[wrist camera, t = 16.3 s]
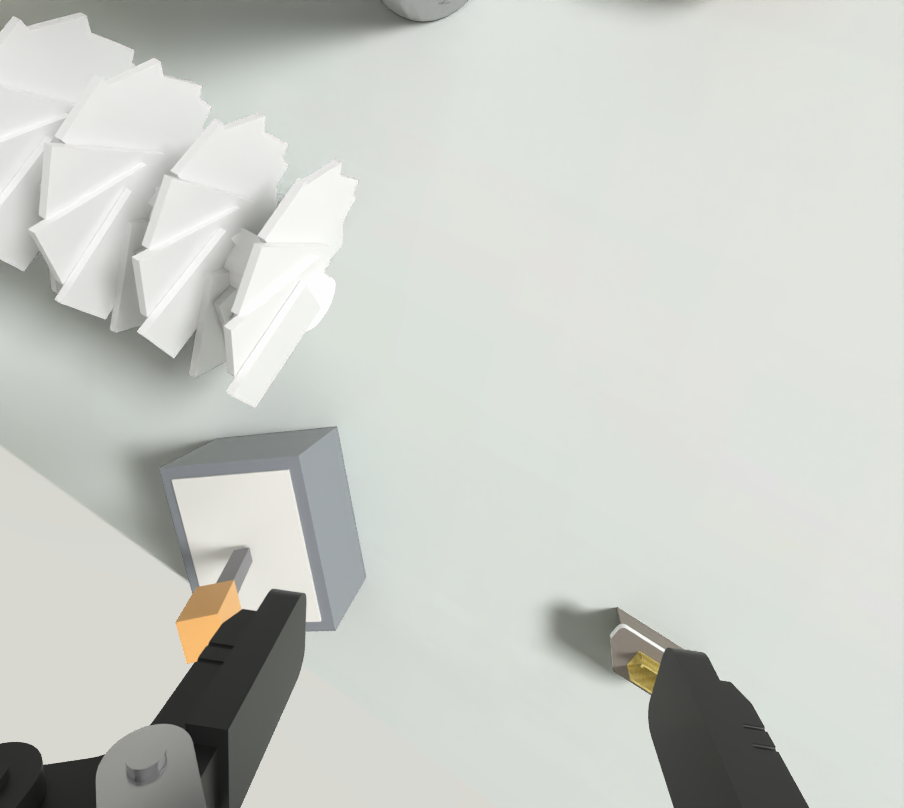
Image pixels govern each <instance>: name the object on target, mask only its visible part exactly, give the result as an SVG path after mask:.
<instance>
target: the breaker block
mask: <svg viewBox="0 0 904 808" xmlns="http://www.w3.org/2000/svg"><path fill="white" fill-rule="evenodd" d="M159 471H160V474H161V478H162V482H163V485H164V489H165V493H166V497H167V500H168V504H169V508H170V511H171V515H172V519H173V523H174V526H175V530H176V534H177V538H178V541H179V545H180V549H181V552H182V556H183V560H184V564H185V567H186V571H187V575H188V579H189V582H190V586H191V590H192V593H194V591H195V589H196V588H197V587H200V586H205V585H210V584H215V583H216V582H217V580H218V578H219V577H220V575H221V573H222V571H223V569H224V567H225V566H226V564H227V562H228V560H229V558H230V556H231V554H232V553H233V551H234V550H238V549H243V548H248V547H249V548H250V552H251V556H252V560H253V562H252V564H251V566H250V568H249V571H248V573H247V575H246V577H245V579H244V582H243V584H242V586H241V588H240V591H239V593H238V597H239V601H240V605H241V609H247V610H254V611H257V610H258V608H259V606H260V605H261V603H262V602H263V600H264V599H265V597H266V595H267V594H268V592H269V591H270V590H271V589H280V590H287V591H294V592H300V593H305V594H306V599H307V603H306V628H305V631H335V630H336V629H337V627H338V625H339V624H340V622H341V620H342V618H343V617H344V615H345V613H346V611H347V610H348V608H349V606H350V604H351V603H352V601H353V599H354V597H355V596H356V594H357V592H358V590H359V589H360V587H361V585H362V584H363V582H364V580H365V578H366V575H365V570H364V565H363V559H362V554H361V549H360V544H359V539H358V533H357V528H356V523H355V518H354V512H353V507H352V502H351V497H350V492H349V486H348V481H347V476H346V471H345V465H344V460H343V455H342V450H341V445H340V439H339V434H338V429H337V427H329V428H319V429H308V430H298V431H288V432H278V433H268V434H258V435H247V436H237V437H227V438H217V439H215V440H213V441H211V442H209V443H207V444H205V445H203V446H201V447H199V448H197V449H195V450H193V451H191V452H189V453H187V454H185V455H183V456H181V457H179V458H178V459H176V460H174V461H172V462H170V463H168V464H166V465H164V466H162V467H160V468H159Z"/></svg>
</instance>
